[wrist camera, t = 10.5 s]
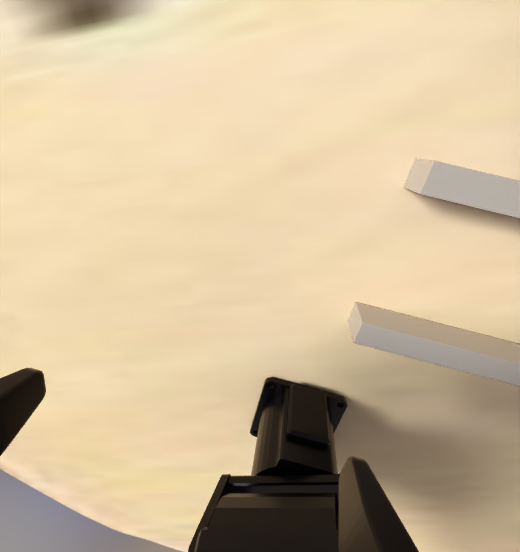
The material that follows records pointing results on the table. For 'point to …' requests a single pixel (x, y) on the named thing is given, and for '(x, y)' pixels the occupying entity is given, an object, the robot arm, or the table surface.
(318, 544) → the robot arm
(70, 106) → the table surface
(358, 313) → the grey rectangular bars
